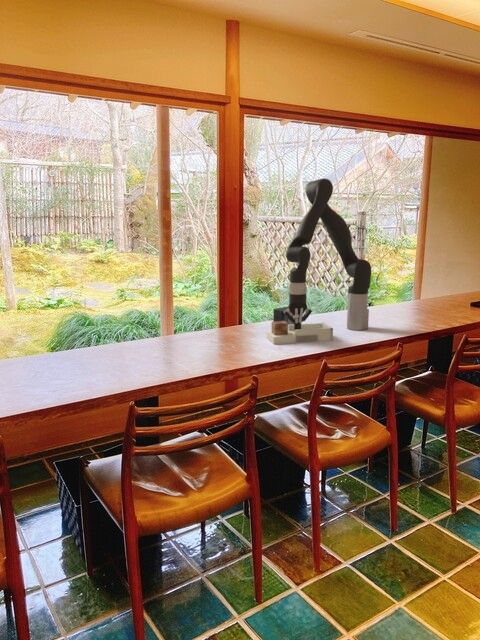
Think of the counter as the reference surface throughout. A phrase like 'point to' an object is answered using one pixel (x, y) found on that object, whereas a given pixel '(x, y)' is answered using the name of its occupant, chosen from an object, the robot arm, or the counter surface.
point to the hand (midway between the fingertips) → (297, 330)
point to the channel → (303, 334)
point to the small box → (282, 315)
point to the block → (280, 328)
